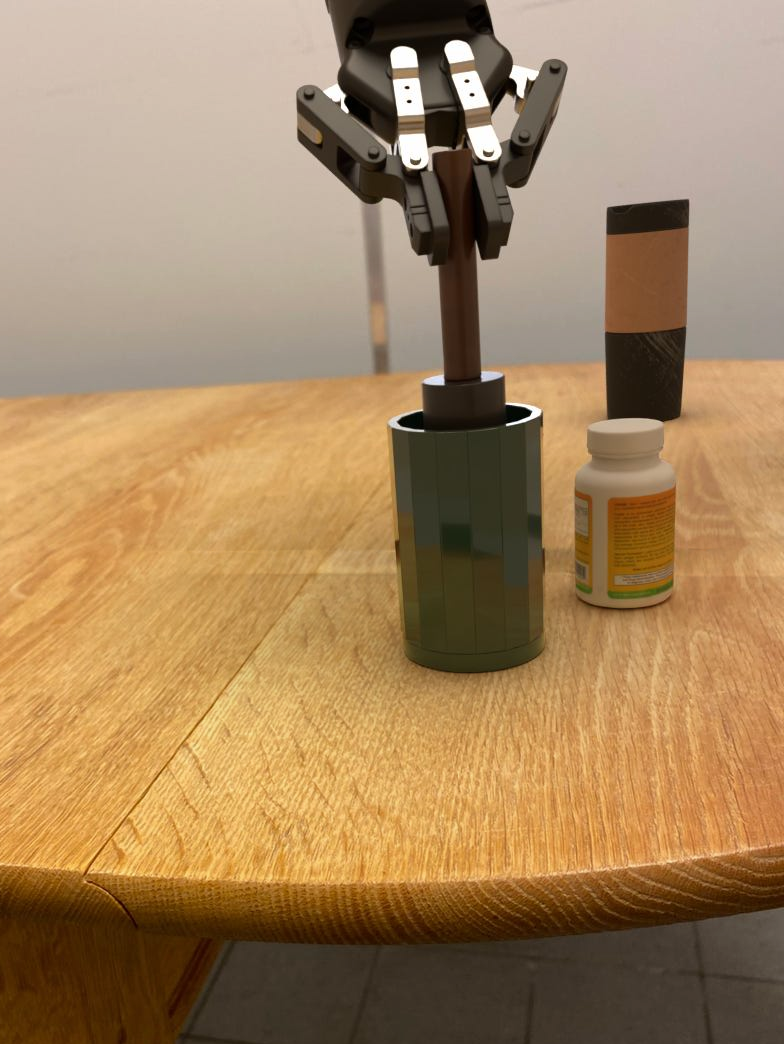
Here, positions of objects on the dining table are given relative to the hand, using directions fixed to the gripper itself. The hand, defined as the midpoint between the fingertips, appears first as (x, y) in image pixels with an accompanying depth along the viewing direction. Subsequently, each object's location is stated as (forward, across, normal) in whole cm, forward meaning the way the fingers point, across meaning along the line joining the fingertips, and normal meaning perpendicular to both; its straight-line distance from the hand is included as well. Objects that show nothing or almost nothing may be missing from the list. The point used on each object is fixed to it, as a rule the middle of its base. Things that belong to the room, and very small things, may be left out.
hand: (467, 248), depth 47 cm
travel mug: (-25, +30, +54) cm, 66 cm away
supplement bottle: (+10, +10, +19) cm, 23 cm away
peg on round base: (+8, 0, +11) cm, 13 cm away
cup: (+13, 0, +15) cm, 20 cm away
